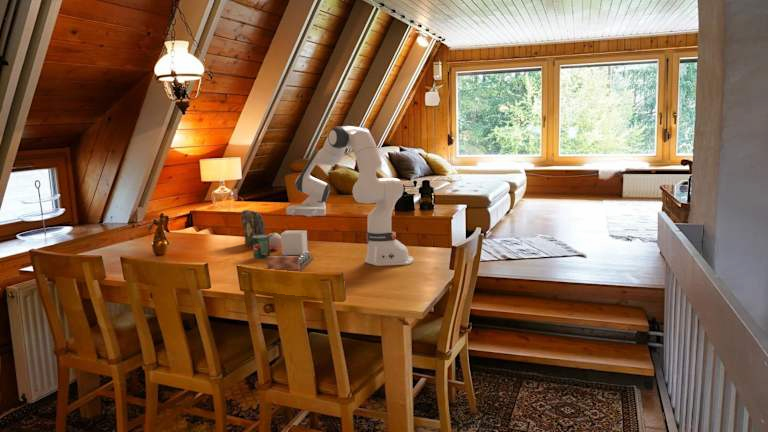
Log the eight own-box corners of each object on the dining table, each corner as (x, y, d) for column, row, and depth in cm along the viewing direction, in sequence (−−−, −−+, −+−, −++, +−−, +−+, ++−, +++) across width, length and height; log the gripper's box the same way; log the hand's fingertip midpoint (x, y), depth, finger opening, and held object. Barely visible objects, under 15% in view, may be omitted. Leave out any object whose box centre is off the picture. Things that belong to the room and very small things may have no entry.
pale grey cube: (307, 251, 278) (306, 230, 276) (302, 254, 270) (301, 233, 269) (287, 251, 279) (286, 230, 278) (282, 254, 271) (280, 233, 270)
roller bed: (313, 259, 280) (312, 245, 279) (297, 273, 255) (297, 258, 254) (285, 259, 282) (284, 245, 281) (267, 273, 257) (266, 257, 256)
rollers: (310, 257, 280) (310, 251, 279) (298, 267, 259) (298, 261, 259) (286, 257, 281) (286, 250, 281) (272, 267, 261) (271, 261, 260)
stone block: (270, 246, 316) (268, 209, 313) (257, 249, 309) (254, 212, 306) (251, 242, 328) (248, 207, 325) (237, 245, 321) (234, 209, 318)
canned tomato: (273, 256, 290) (272, 235, 288) (263, 260, 283) (262, 238, 281) (260, 255, 293) (259, 234, 292) (250, 259, 286) (249, 237, 285)
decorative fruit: (279, 251, 302) (278, 232, 300) (264, 251, 302) (262, 232, 301) (284, 247, 311) (283, 229, 309) (269, 247, 312) (268, 229, 310)
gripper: (289, 201, 303) (282, 207, 290) (328, 202, 301) (322, 208, 287) (290, 213, 305) (282, 219, 291) (328, 214, 302) (323, 220, 289)
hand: (302, 214), depth 289 cm, fingers open, 8 cm apart
